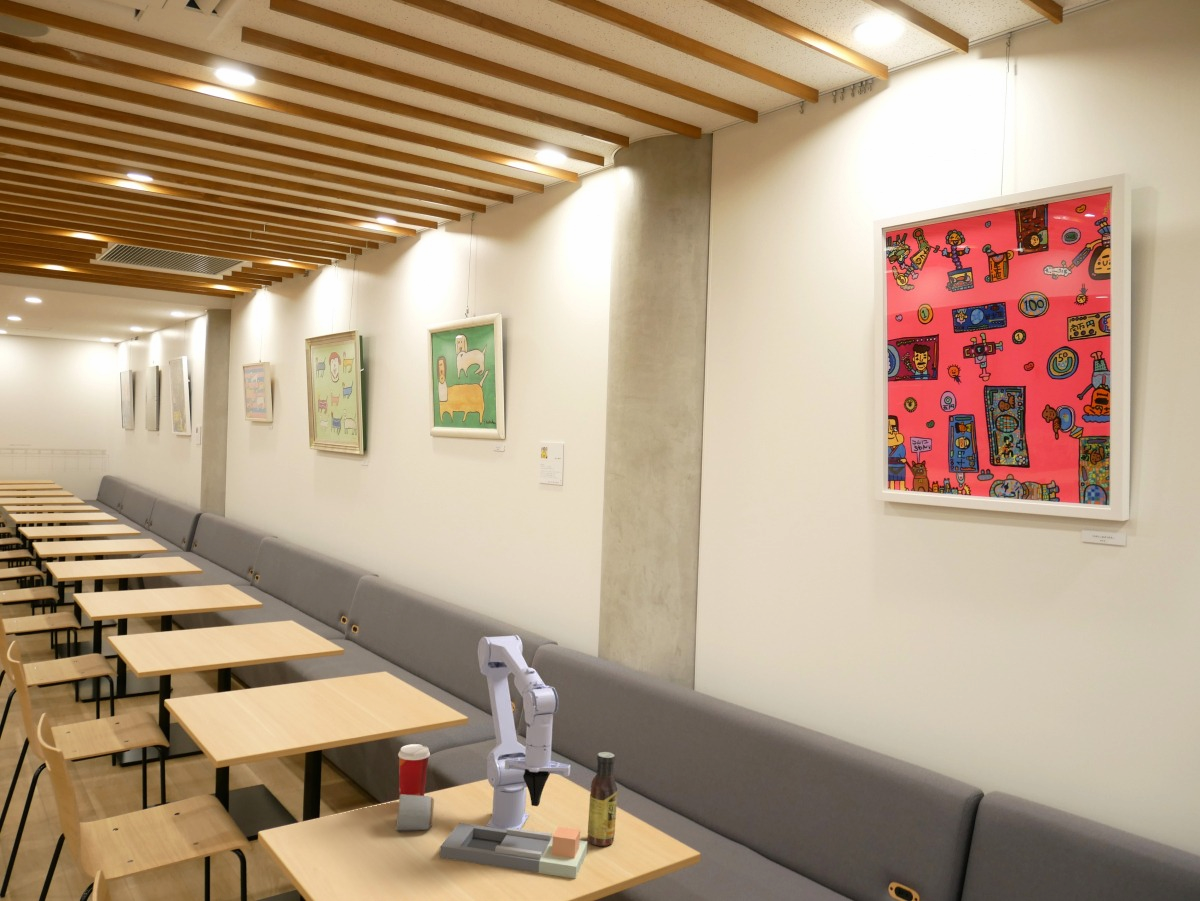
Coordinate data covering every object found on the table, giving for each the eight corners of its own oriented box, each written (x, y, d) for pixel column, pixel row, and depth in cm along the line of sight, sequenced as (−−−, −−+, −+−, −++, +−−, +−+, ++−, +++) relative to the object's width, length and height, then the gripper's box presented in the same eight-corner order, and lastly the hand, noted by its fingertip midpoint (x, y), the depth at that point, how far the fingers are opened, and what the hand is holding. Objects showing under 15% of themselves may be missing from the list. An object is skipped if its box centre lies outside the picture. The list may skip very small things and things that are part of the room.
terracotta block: (557, 844, 191) (558, 826, 191) (579, 847, 191) (580, 829, 190) (551, 854, 187) (552, 836, 186) (574, 858, 186) (575, 839, 186)
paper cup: (413, 796, 218) (416, 741, 218) (433, 806, 213) (436, 749, 213) (388, 805, 212) (391, 748, 212) (407, 815, 207) (411, 757, 207)
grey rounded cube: (432, 835, 198) (434, 801, 198) (395, 836, 196) (397, 802, 196) (431, 815, 208) (433, 783, 208) (396, 816, 207) (398, 784, 207)
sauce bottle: (611, 849, 196) (616, 761, 196) (584, 845, 197) (589, 758, 197) (616, 836, 202) (621, 752, 202) (590, 832, 204) (595, 748, 204)
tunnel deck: (458, 833, 199) (459, 818, 199) (586, 852, 194) (587, 836, 194) (439, 857, 187) (440, 841, 187) (575, 878, 182) (576, 861, 182)
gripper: (502, 745, 190) (498, 807, 190) (566, 752, 188) (563, 815, 188) (511, 735, 197) (507, 795, 197) (573, 742, 195) (570, 802, 195)
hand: (535, 804), depth 193 cm, fingers closed
